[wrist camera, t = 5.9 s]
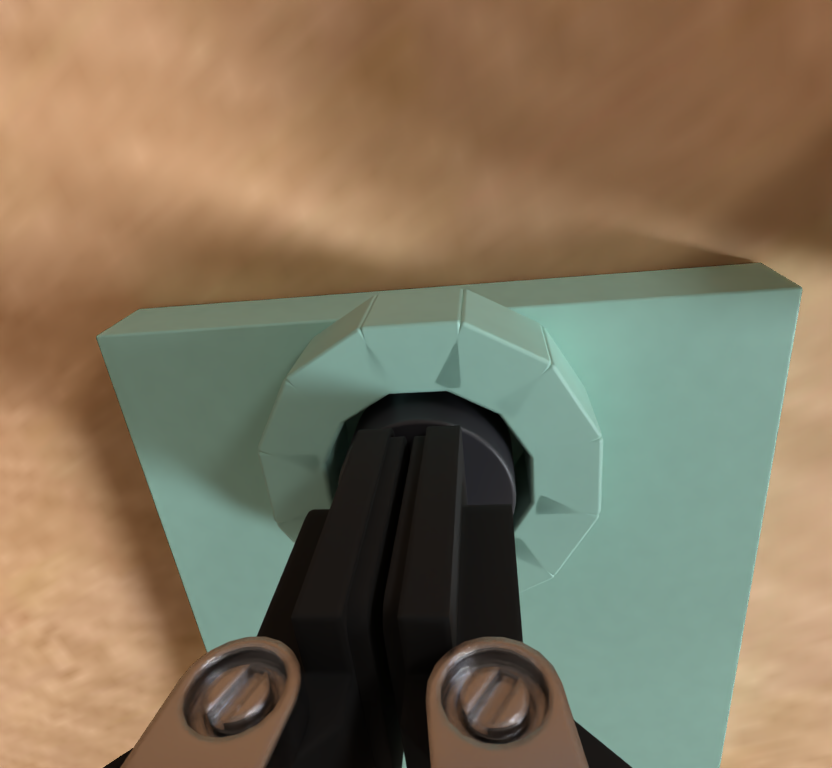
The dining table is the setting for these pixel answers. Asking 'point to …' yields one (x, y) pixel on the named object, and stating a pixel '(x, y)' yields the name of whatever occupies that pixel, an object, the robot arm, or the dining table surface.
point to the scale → (532, 456)
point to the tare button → (480, 435)
